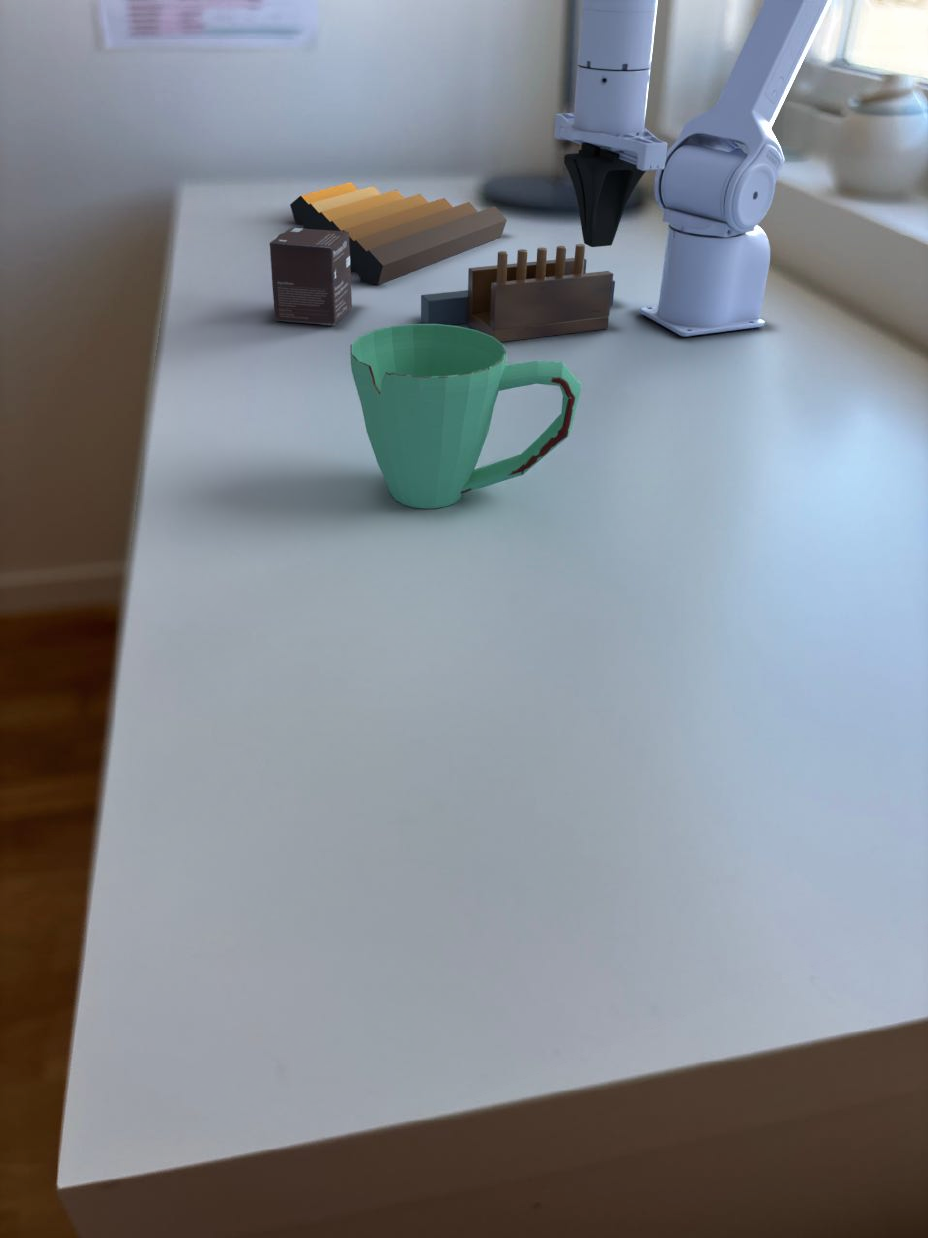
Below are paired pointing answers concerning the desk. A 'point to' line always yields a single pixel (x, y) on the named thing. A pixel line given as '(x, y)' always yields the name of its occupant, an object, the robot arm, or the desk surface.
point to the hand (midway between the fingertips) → (597, 244)
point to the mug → (445, 408)
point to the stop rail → (452, 307)
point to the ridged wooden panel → (396, 228)
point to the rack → (538, 296)
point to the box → (311, 276)
